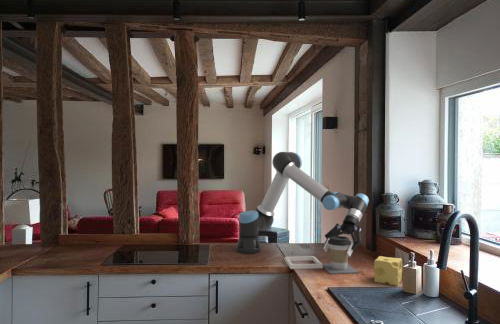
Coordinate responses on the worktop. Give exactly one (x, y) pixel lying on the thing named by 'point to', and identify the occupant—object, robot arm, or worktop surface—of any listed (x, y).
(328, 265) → the rubber mat
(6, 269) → the worktop surface
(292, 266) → the holder frame
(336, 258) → the coffee cup
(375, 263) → the cheese
